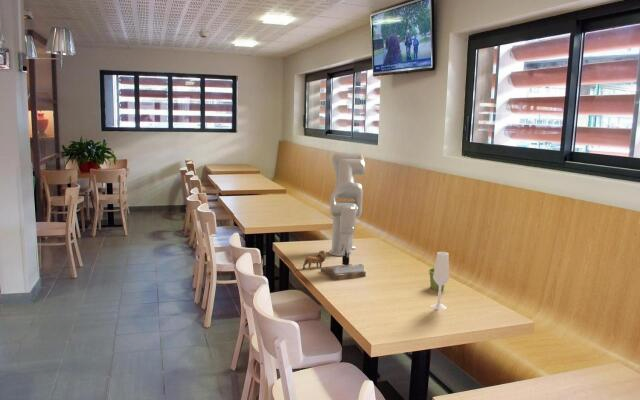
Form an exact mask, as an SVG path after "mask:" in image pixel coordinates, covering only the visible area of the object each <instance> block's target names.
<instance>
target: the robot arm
mask: <svg viewBox="0 0 640 400" xmlns="http://www.w3.org/2000/svg"><path fill="white" fill-rule="evenodd" d="M331 163H332V167H333V169H334V173H335V182H334V183H335V185H334V186H335V187H334V189H333V191H332V193H331V195H330V199H329V201H330V202H329V203H330V204H329V206H330V207H329V210H330V215H331V216H332V231H331V233H332V234H331V235H332V236H331V249H329V251H328V254H329V255H330V256H335V257H342V261H341V265H348V264H350V255H351V251H353V250H356V246H354V245H353V243H354V242H353V240H354V234H355V231H356V218H361V217H362V214H363V213H362V212H363V197H364V195H363V193H364V192H363V186H362V184H361V183H360V182H355V175H357V176H358V175H359V176H361V175H364V174H365V171H366V162H365V159H364V155H363V154H362V153H359V152H358V153H355V152H337V153H334V154H333V155H332V158H331ZM337 198H338V199H346V200H336V199H337ZM347 199H349V200H347ZM351 199H353V200H351Z"/></svg>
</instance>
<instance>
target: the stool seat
mask: <svg viewBox="0 0 640 400" xmlns="http://www.w3.org/2000/svg"><path fill="white" fill-rule="evenodd" d="M348 265H353V264H351V263H349V264H348ZM334 266H335V265H330V266H321V268H320V273H322V274H323V275H325V276H326V277H328V278H330V279H332V280H333V281H340V280H348V279H356V278H363V277H365V278H366V276H367V275H366V274H367V273H366V272H367V271H365V270H364V271H361V272H350V273H338V274H335V273H333V267H334ZM336 266H346V265H343V264H339V265H336Z"/></svg>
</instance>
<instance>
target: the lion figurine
mask: <svg viewBox="0 0 640 400" xmlns="http://www.w3.org/2000/svg"><path fill="white" fill-rule="evenodd" d="M326 257H327V253H326V251H325V250H320V251H318V253H317V255H316V256H310V255H309V256H307V257H305V260H304V262H303V265H302V266H303V267H302V270H305V269H306V265H308V269H309V270H310V271H312V270H313V268H312V267H311V266H312V264H316V268H320V269H321V267H322V264H323V262H325V261H326Z"/></svg>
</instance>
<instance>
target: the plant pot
mask: <svg viewBox="0 0 640 400" xmlns="http://www.w3.org/2000/svg"><path fill="white" fill-rule="evenodd" d="M434 268H435V267H434ZM434 268H433V267H431V268H429V269H428V273H429V279H430V280H429V282H430V288H431V289H432V290H435V291H439V285H438V284H437V283H436V282H435V281H434V279H433V274H434ZM444 288H445V284H444V285H442V289H441V291H442V290H444Z"/></svg>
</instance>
